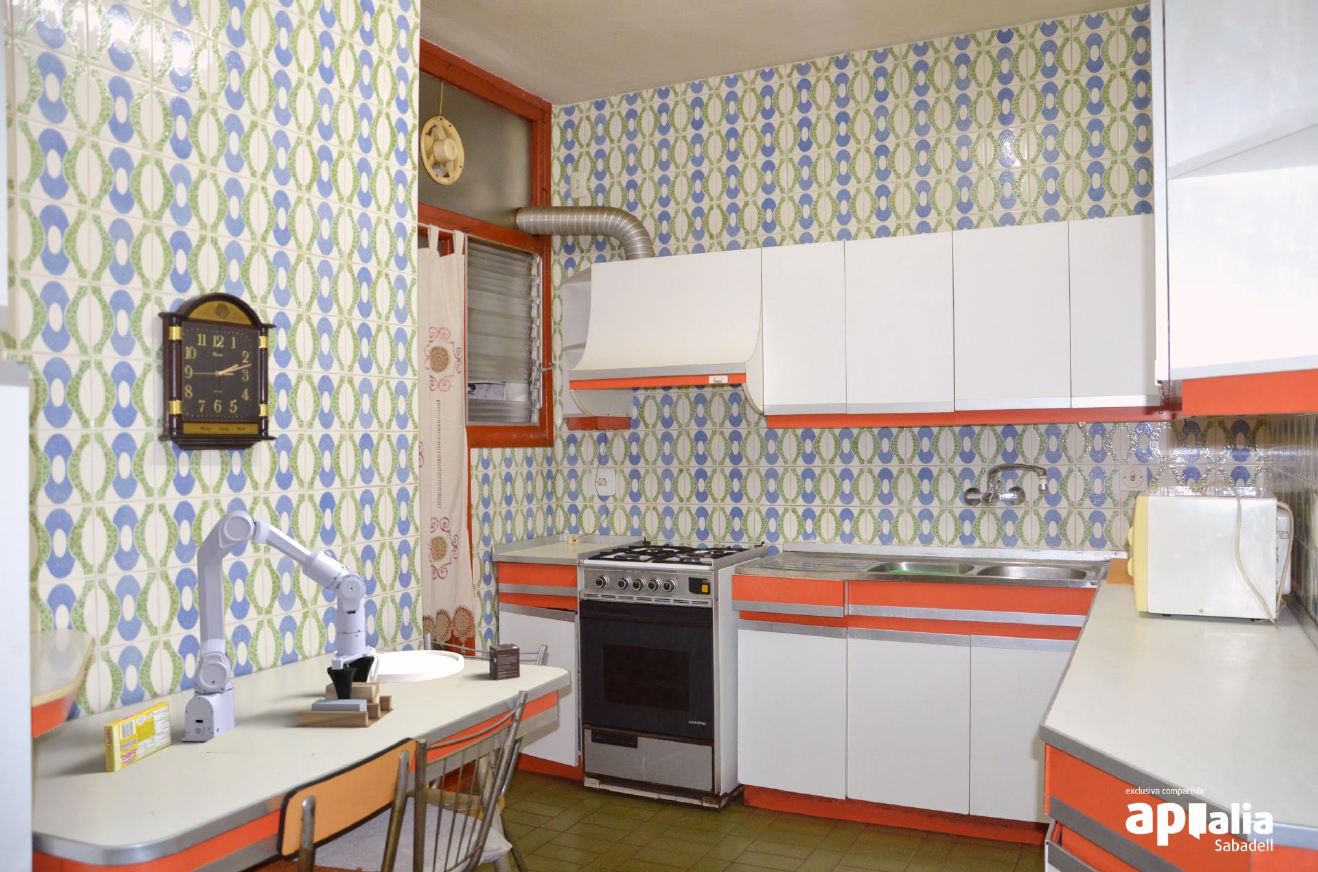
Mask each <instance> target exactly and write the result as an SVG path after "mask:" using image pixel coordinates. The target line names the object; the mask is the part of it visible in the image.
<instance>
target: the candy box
mask: <svg viewBox="0 0 1318 872" xmlns="http://www.w3.org/2000/svg"><path fill="white" fill-rule="evenodd" d="M170 712H171V711H170V701H162V702H161V701H160V702H159V703H156V704H154V705H152V706H148V707H147V708H145V709H141V710H139V711H137V712H135V713H132V714H130V715H128V716H125V717H123V718H121V719H119V720H116V721H114V722H111V723H109V724H107V725H104V726H103V729H104V747H105V748H104V749H105V752H104V753H105V770H106V772H111V773H112V772H117V771H119V770H122V769H123V768H126V767H128V766H130V765H131V764H133V763H136V762H138V761H140V760H142V759H144V758H146V757H148V756H150V755H152V754H154V753H156V752H158V751H161V750H162V749H165V748H167V747H169V746H171V745H172V734H171V733H172V731H171V717H170V716H171V715H170Z"/></svg>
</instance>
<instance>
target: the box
mask: <svg viewBox="0 0 1318 872" xmlns="http://www.w3.org/2000/svg"><path fill="white" fill-rule="evenodd" d="M488 648H489V651H488V657H489V660H488V661H489V676H490V677H491V678H492V679H494V680H495V681H503V680H508V679H509V680H510V679H519V678H521V674H520V673H521V670H520V669H521V664H520V663H521V661H520V660H521V659H520V647H519V646H517V644H513V643H512V642H510V643H502V644H492V645H488Z"/></svg>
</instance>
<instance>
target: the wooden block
mask: <svg viewBox="0 0 1318 872" xmlns="http://www.w3.org/2000/svg"><path fill="white" fill-rule="evenodd" d="M325 696H326V699H338V697H337V693H336V690H335V686H334V684H333V682H331V683H329V684H327V685H325ZM379 696H380V683H379V682H352V690H351V698H350V700H367V703H379Z"/></svg>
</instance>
